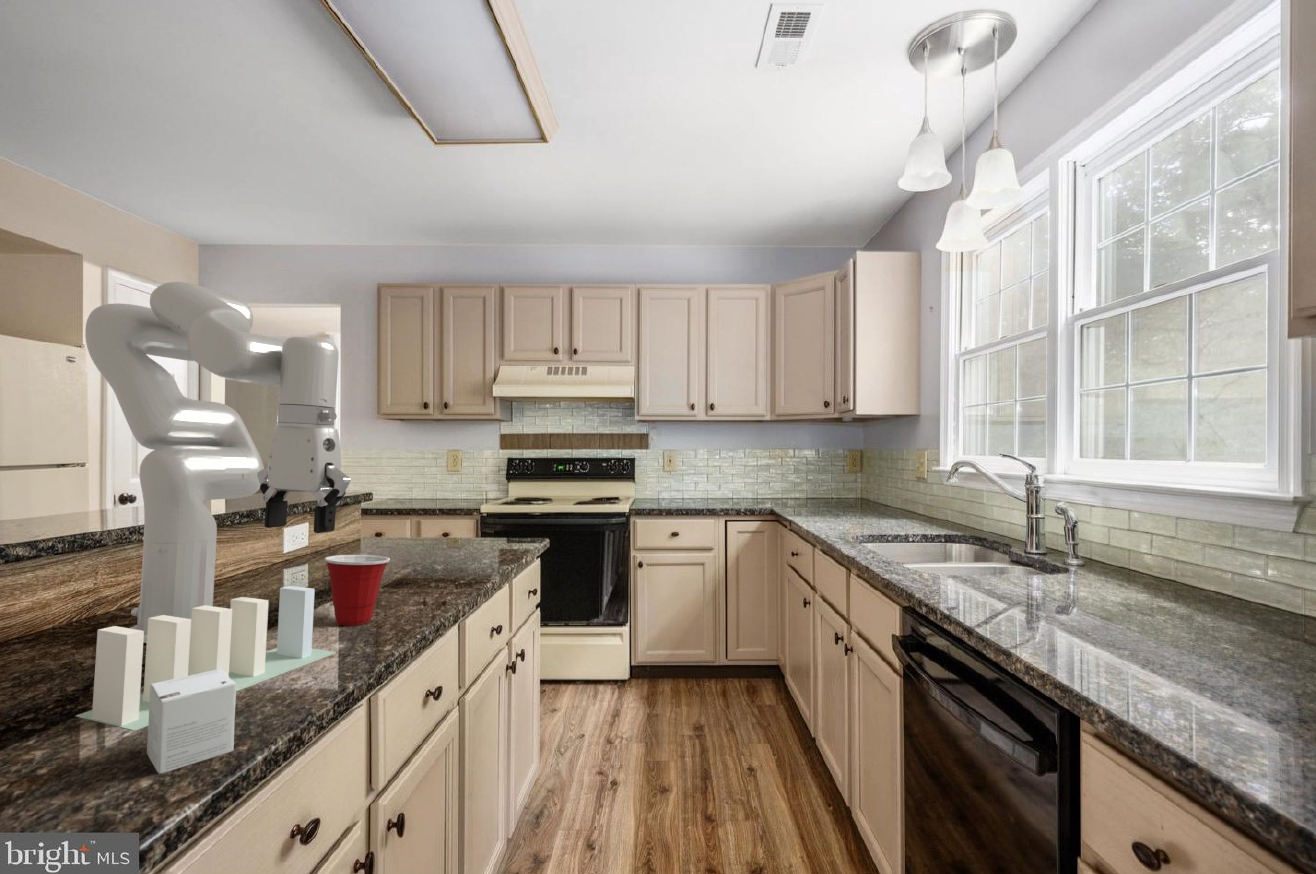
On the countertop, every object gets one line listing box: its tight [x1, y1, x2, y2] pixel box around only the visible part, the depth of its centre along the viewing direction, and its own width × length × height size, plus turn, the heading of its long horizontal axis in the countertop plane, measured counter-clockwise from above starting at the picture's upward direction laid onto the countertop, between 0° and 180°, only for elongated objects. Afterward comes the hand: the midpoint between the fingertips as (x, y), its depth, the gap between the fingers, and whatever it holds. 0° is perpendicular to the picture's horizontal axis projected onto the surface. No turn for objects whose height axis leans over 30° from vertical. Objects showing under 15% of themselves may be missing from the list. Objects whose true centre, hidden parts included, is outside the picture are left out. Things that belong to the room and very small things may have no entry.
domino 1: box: [91, 625, 144, 726], centre depth 64 cm, size 5×2×10 cm, turn 73°
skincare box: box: [146, 669, 237, 775], centre depth 58 cm, size 6×6×7 cm
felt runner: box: [75, 647, 337, 732], centre depth 76 cm, size 10×26×1 cm, turn 163°
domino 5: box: [276, 585, 316, 658], centre depth 86 cm, size 5×2×10 cm, turn 73°
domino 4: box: [229, 596, 270, 677], centre depth 78 cm, size 5×2×10 cm, turn 73°
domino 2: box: [143, 615, 191, 702], centre depth 69 cm, size 5×2×10 cm, turn 73°
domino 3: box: [188, 605, 232, 677], centre depth 74 cm, size 5×2×10 cm, turn 73°
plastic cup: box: [324, 554, 391, 627], centre depth 104 cm, size 11×11×12 cm
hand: (299, 529), depth 86 cm, fingers open, 9 cm apart
